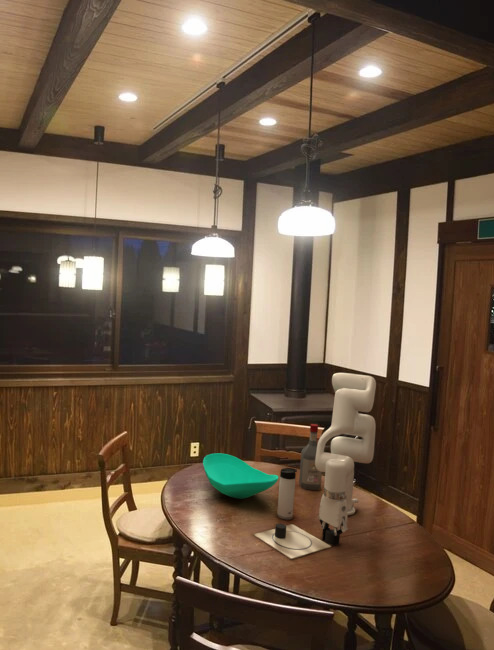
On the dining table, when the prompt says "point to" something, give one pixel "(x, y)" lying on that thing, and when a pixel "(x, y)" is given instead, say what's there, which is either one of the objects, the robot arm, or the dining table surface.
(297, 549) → the drawing board
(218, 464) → the table top decor
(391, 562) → the dining table surface
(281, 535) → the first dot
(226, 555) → the dining table surface
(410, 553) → the dining table surface
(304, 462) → the liquor
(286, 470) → the travel mug
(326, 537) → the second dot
